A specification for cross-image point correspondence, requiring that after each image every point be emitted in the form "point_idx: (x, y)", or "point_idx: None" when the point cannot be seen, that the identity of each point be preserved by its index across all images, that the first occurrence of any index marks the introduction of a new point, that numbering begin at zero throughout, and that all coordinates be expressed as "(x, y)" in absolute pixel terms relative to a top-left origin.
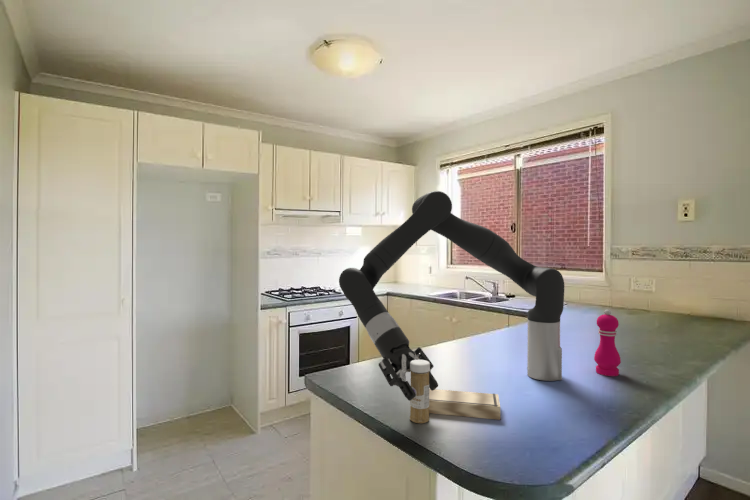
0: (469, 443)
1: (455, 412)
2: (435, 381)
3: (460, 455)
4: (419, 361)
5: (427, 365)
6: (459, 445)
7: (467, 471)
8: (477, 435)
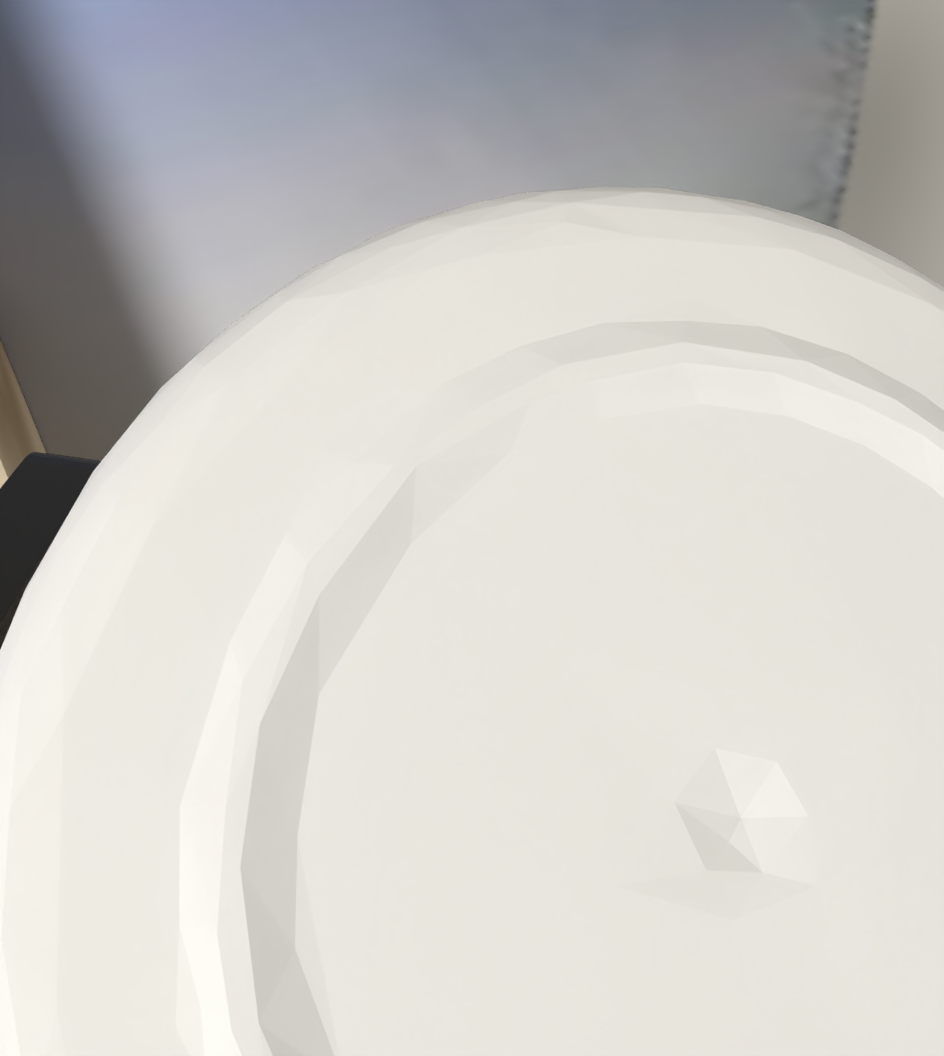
0: (533, 90)
1: (8, 378)
2: (17, 502)
3: (738, 98)
4: (658, 935)
5: (766, 214)
6: (613, 148)
7: (875, 8)
8: (353, 68)
